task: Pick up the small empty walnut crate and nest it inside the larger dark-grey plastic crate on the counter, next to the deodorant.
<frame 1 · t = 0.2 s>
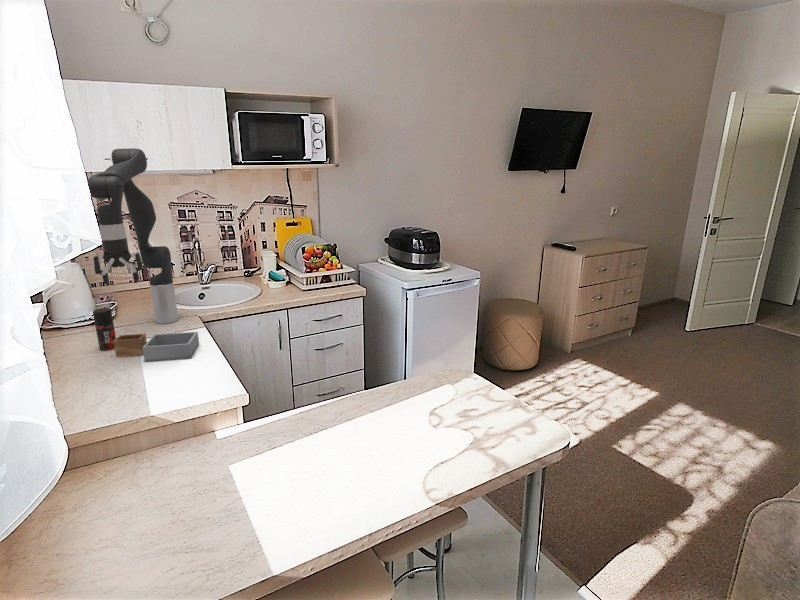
hand: (122, 284, 173), 27 cm above the table, fingers open, 8 cm apart
crate large: (173, 353, 185), on the table
crate small: (132, 353, 185), on the table
deodorant: (108, 348, 191), on the table
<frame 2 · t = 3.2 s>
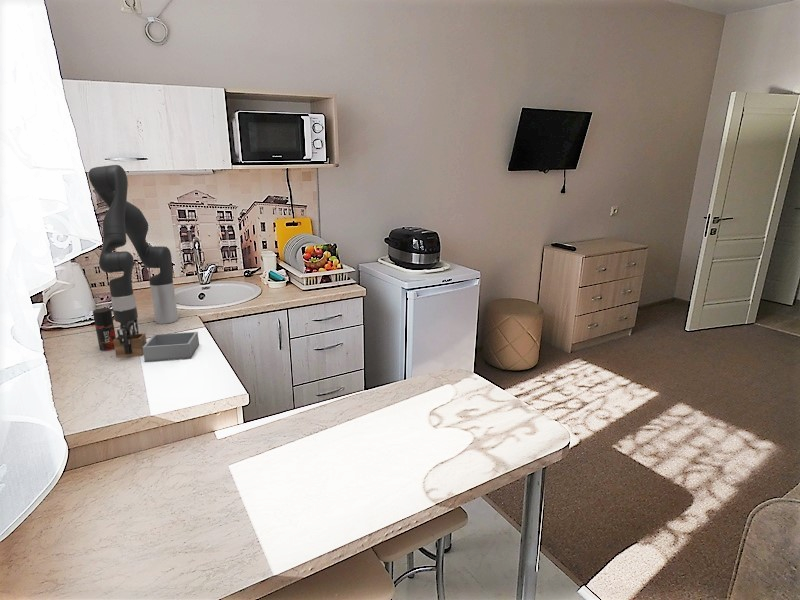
hand: (131, 350, 185), 1 cm above the table, fingers closed on crate small, 6 cm apart
crate small: (132, 353, 185), on the table, touching gripper
everything else where it was.
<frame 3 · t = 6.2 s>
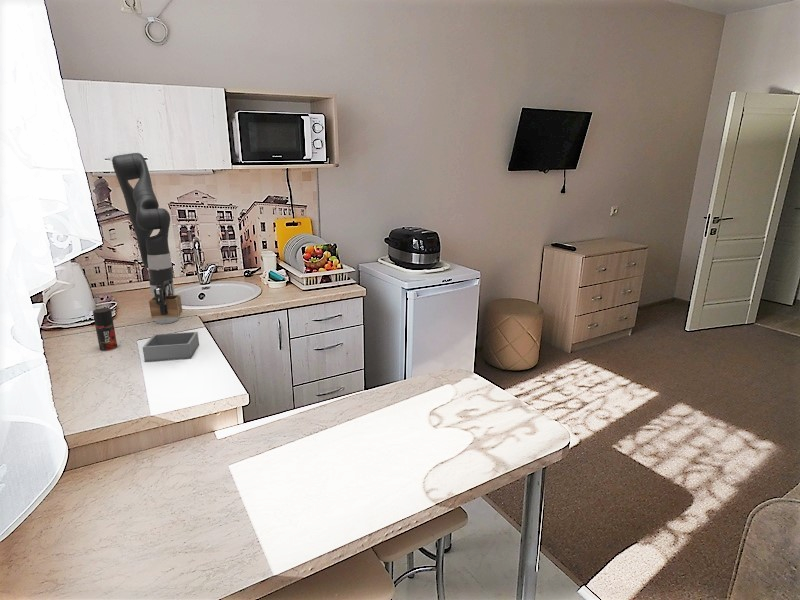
hand: (167, 312, 180), 16 cm above the table, fingers closed on crate small, 6 cm apart
crate small: (167, 315, 181), point 15 cm above the table, touching gripper
everything else where it was.
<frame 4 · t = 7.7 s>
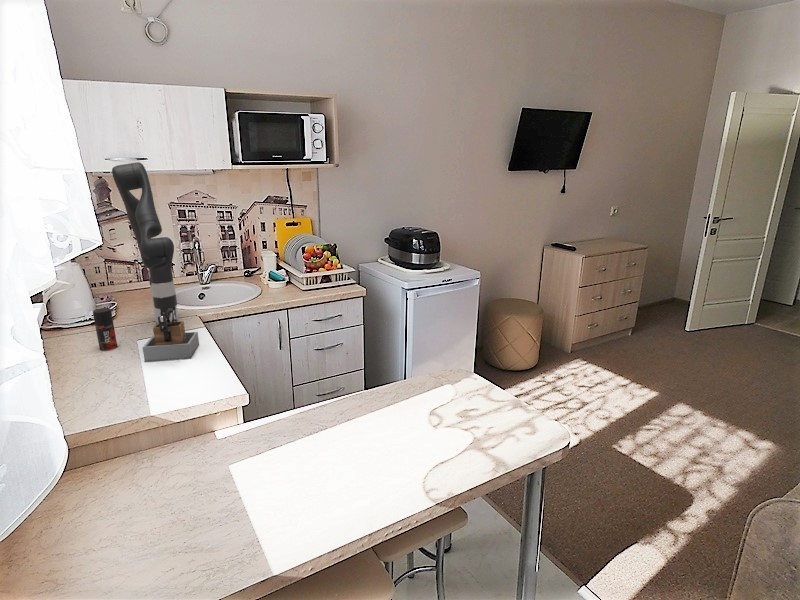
hand: (170, 338, 183), 6 cm above the table, fingers closed on crate small, 6 cm apart
crate small: (171, 341, 183), point 5 cm above the table, touching gripper
everything else where it was.
when the fingers open (4 cm above the table, at t = 9.1 s): crate small drops 2 cm, resting on crate large.
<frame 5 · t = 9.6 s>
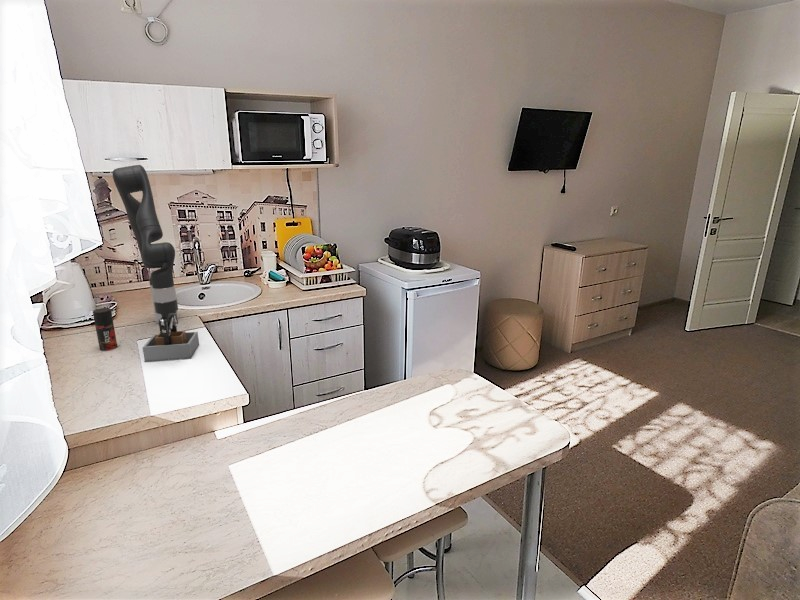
hand: (171, 341, 183), 5 cm above the table, fingers open, 8 cm apart
crate small: (172, 351, 184), point 1 cm above the table, touching crate large
everything else where it was.
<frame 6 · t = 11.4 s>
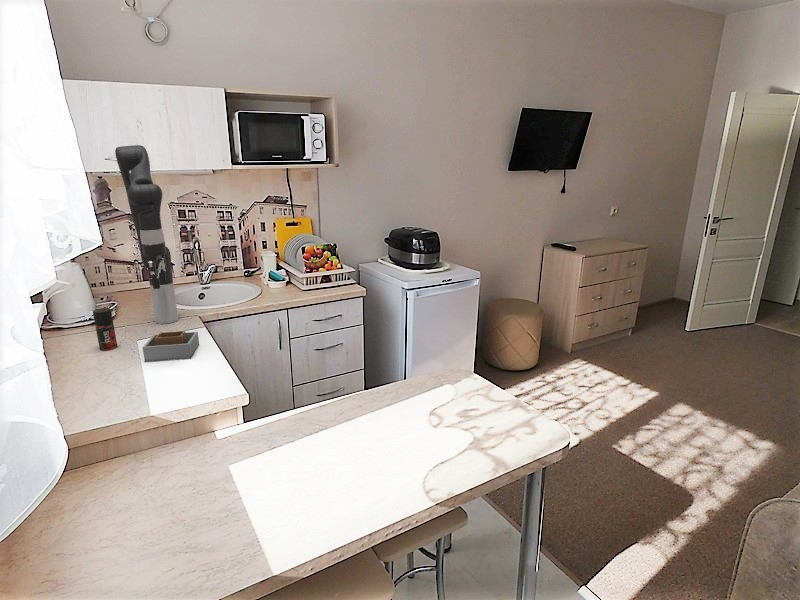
hand: (160, 285, 183), 24 cm above the table, fingers open, 8 cm apart
nothing on the table moved.
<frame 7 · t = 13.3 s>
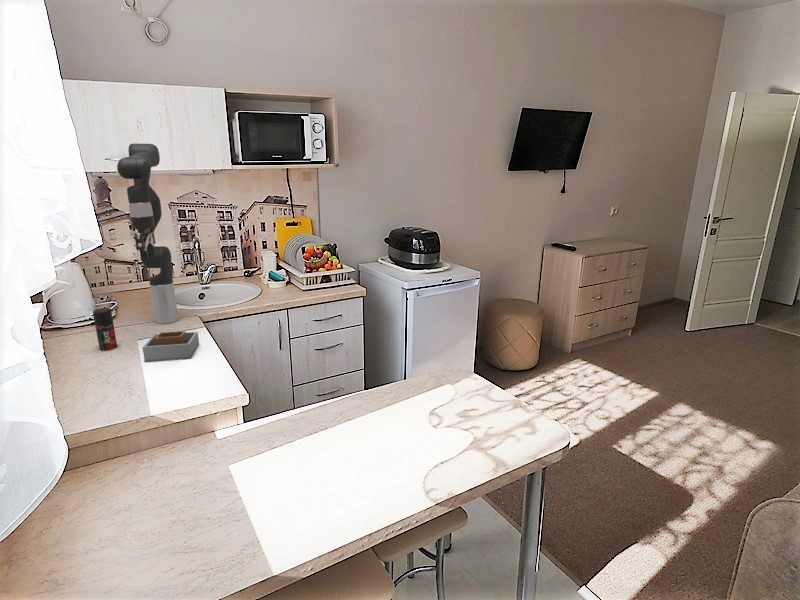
hand: (148, 258, 188), 33 cm above the table, fingers open, 8 cm apart
nothing on the table moved.
at the end: crate small inside the target area on the crate large (0.1 cm from its centre), point 0.8 cm above the crate large's base; crate small tilted 0°; the gripper is holding nothing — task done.
